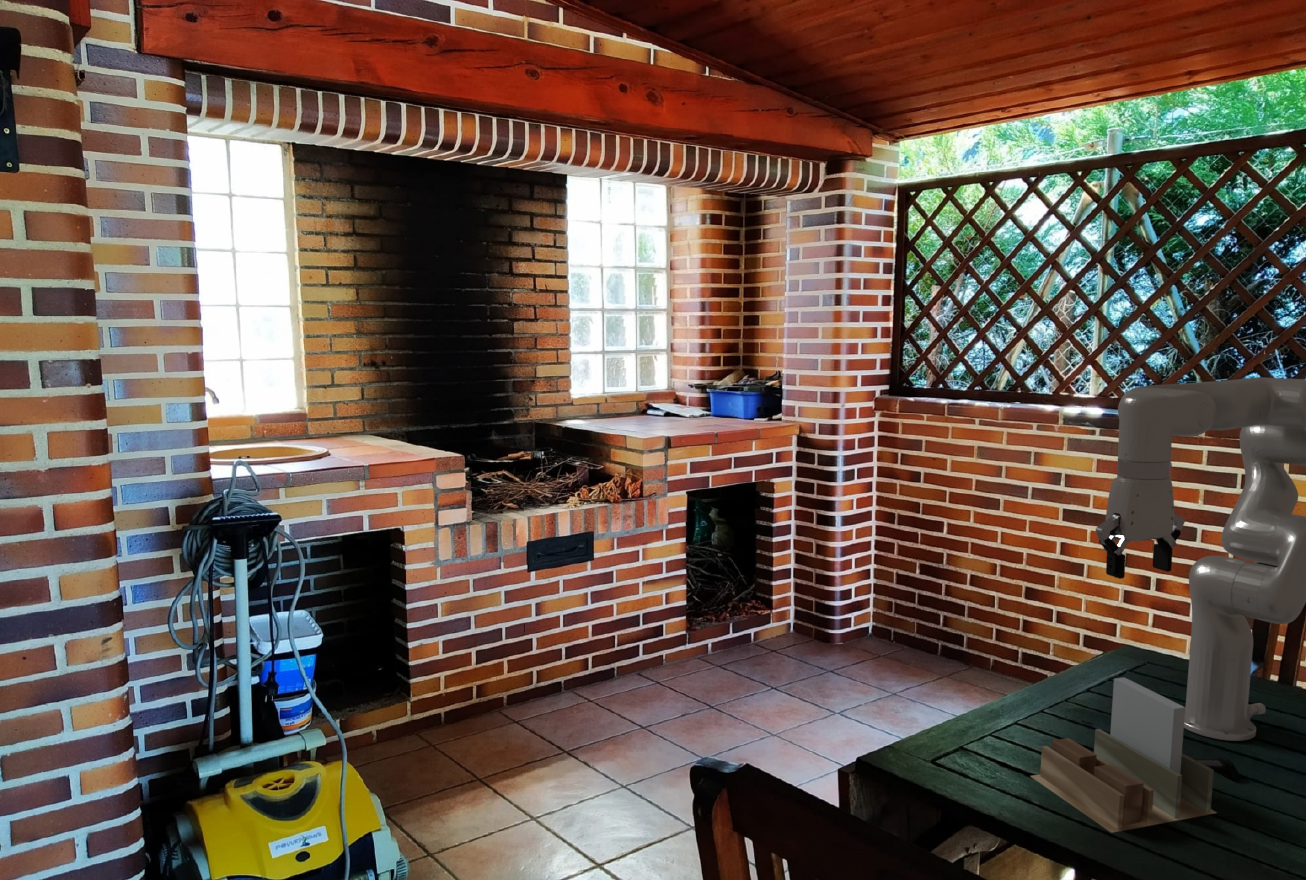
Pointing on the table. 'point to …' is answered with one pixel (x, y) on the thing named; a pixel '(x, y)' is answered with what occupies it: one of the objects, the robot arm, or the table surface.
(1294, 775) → the table surface
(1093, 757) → the offcut
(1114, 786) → the offcut
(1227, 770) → the electric trimmer
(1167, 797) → the rack
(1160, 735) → the sheet
